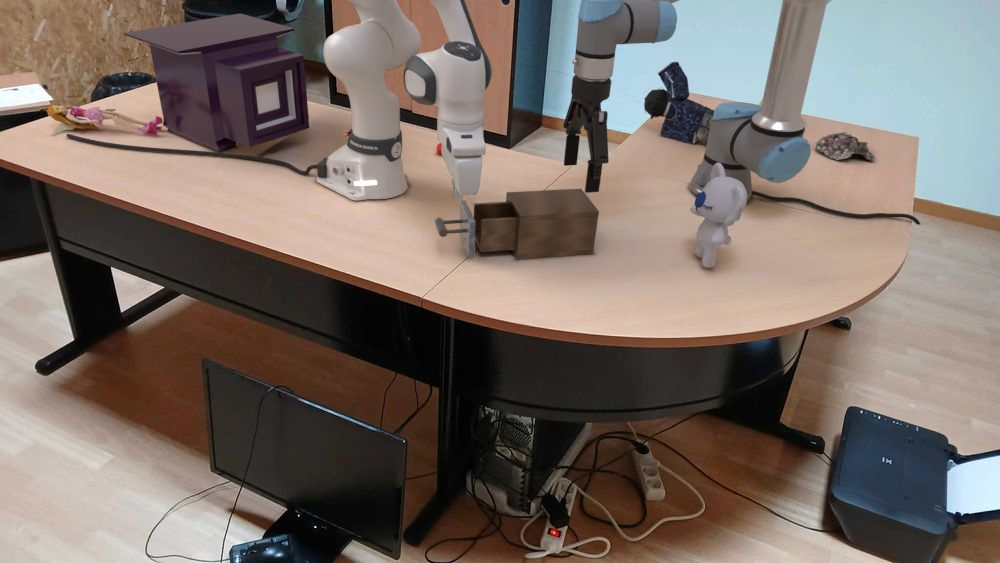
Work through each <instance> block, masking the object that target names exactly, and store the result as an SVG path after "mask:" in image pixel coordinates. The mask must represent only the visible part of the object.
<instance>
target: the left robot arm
mask: <svg viewBox="0 0 1000 563" xmlns="http://www.w3.org/2000/svg"><path fill="white" fill-rule="evenodd" d="M346 1H347V2H349V3H351V4H352V5H353V7H354V9H355V10H356V12H357V15H358V17H359V20H360V23H356V24H351V25H348V26H344V27H343V28H341V29H339V30H337V31H335V32H334V33H332V34H331V35H329V36H328V37H327V38H326V39H325V41H324V44H323V49H322V55H323V61H324V64H325V66H326V68H327V69H328V71H329V72H330V73H331V74H332V75H333V76H334V77H335V78H336V79H338V80H339V81H340V82H341V83H342V84H343V87H344V88H345V90H346V92H347V96H348V98H349V105H350V116H351V128H350V129H349V130H348V131H345V132H343V133H342V134H343V136H342V138H343V139H345V138H347V137H348V138H347V141H346V143H345V144H343V145H342V146H341V147H339V148H337V149H336V150H335V151H334V152H332V153H331V154H330V155H328V157H324V158H323V159H322V160H320V161H319V162H318V163H317V164H311V165H308V167H306V169H305V170H300V169H298V168H297V167H295V166H294V165H293V164H291V163H288V162H287V161H282V160H279V159H273V158H268V157H261V156H253V155H248V154H239V153H230V152H217V151H207V150H206V151H204V150H190V149H179V148H178V149H177V148H163V147H151V146H140V145H139V146H138V145H129V144H122V143H121V144H120V143H113V142H107V141H101V140H95V139H92V138H87V137H83V136H79V135H75V134H70V133H67V134H66V138H69V139H72V140H77V141H81V142H84V143H89V144H94V145H99V146H104V147H111V148H117V149H124V150H125V149H126V150H133V151H142V152H143V151H145V152H156V153H167V154H169V153H170V154H184V155H197V156H199V155H200V156H213V157H223V158H234V159H235V158H236V159H242V160H243V159H244V160H251V161H257V162H264V163H269V164H276V165H280V166H284V167H287V168H289V169H290V170H291V171H293V172H295V173H297V174H299V175H301V176H306V175H308V174H310V173H311V170H315V169H316V174H317V177H316V183H318V184H320V185H322V186H324V187H326V188H328V189H330V190H331V191H334V192H336V193H338V194H340V195H342V196H343V197H345V198H347V199H349V200H352V201H355V202H356V201H357V202H358V201H364V200H365V201H366V200H385V199H386V200H387V199H392V198H395V197H399V196H401V195H402V194H404V193H406V191H407V190H408V183H407V180H406V175H405V172H404V166H403V161H402V160H403V159H402V151H403V132H402V130H401V103H400V102H401V101H400V99H399V97H398V96H397V95H396V94H395V93H394V92H393V91H391V90H390V89H388V87H387V84H386V79H385V74H386V72H388V71H391V70H394V69H397V68H401V67H403V66H404V69H403V76H402V78H403V86H404V89H405V92H406V93H407V95H408V96H409V98H411V99H412V100H413V101H414V102H416V103H418V104H420V105H424V106H435V107H436V108H437V118H436V119H437V120H436V124H437V125H436V139H437V141H438V142H439V143H441V144H442V148H441V152H442V154H441V158H442V160H443V162H444V163H445V166H446V169H447V171H448V173H449V176H450V179H451V185H452V191H451V192H452V195H453V197H454V199H455V200H456V201H461V200H464V198H465V196H467V197H468V196H477V194H479V193H478V192H479V190H480V186H481V178H482V168H483V157H482V156H485V155H486V151H487V147H486V142H485V137H484V124H485V123H484V122H485V120H484V119H485V113H484V110H483V103H484V99H485V96H486V90H487V89H488V87H489V85H490V82H491V81H492V74H493V68H492V63H491V61H490V60H491V59H490V58H489V56H488V54H487V52H486V51H485V49H484V47H483V45H482V43H481V41H480V39H479V37H478V33H477V31H476V29H475V26H474V22H473V20H472V17H471V14H470V12H469V10H468V7H467V3H466V1H465V0H428V1H429V2H430V3H431V4H432V5H433V6H434V8H436V10H437V12H438V15H439V17H440V20H441V23H442V25H443V28H444V31H445V33H446V36H447V38H448V41H449V42H448V41H447V42H446V43H444V44H443V45H442V46H441V47H440V48H438V49H435V50H432V51H426V52H421V53H420V50H421V46H422V39H421V34H420V32H419V29H418V28H417V26H416V25H415V23H413V21H411V19H409V18H408V17H407V16H406V15H405V14H404V12H403V11H402V9H401V7H400V5H399V3H398V1H397V0H346Z"/></svg>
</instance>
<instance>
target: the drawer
mask: <svg viewBox="0 0 1000 563" xmlns="http://www.w3.org/2000/svg"><path fill="white" fill-rule="evenodd" d="M518 219H519V218H518V217H517V215H516V213H515V211H514V210H513V208H512V206H511V204H510V203H509V201H507V202H506V201H489V202H474V203H473V213H472V211H471V208H470V207H469V204H468V202H467V200H466V199H462V200H459V219H449V220H446V219H445V220H444V219H443V218H441V217H437V218H435V220H434V225H435V227H436V230H437V233H438V236H439V237H441V238H445V237H447V236H448V235H451V234H458V235H459V237H460V240H461V242H462V245H463V248H464V250H465V252H466V254H467V257H468V258H475V245H477V247H478V249H479V251H480V253H489V252H500V251H501V252H502V251H512V250H516V244H517V231H518ZM452 224H453V225H454V224H458V225H459V226H458V229H447V227H446V225H452Z"/></svg>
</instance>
